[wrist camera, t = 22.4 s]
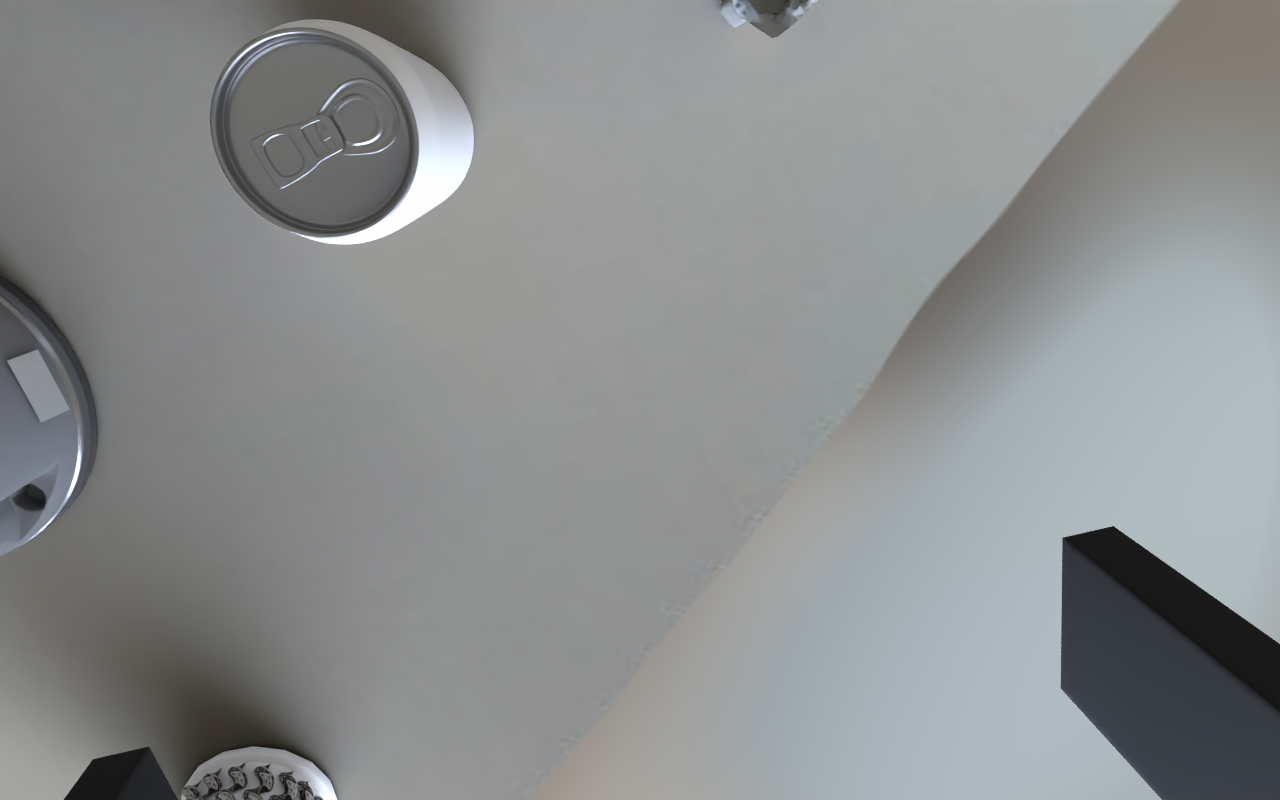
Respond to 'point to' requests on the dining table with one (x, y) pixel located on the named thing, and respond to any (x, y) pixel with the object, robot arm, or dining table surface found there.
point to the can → (338, 131)
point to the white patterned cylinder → (258, 777)
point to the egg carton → (765, 13)
